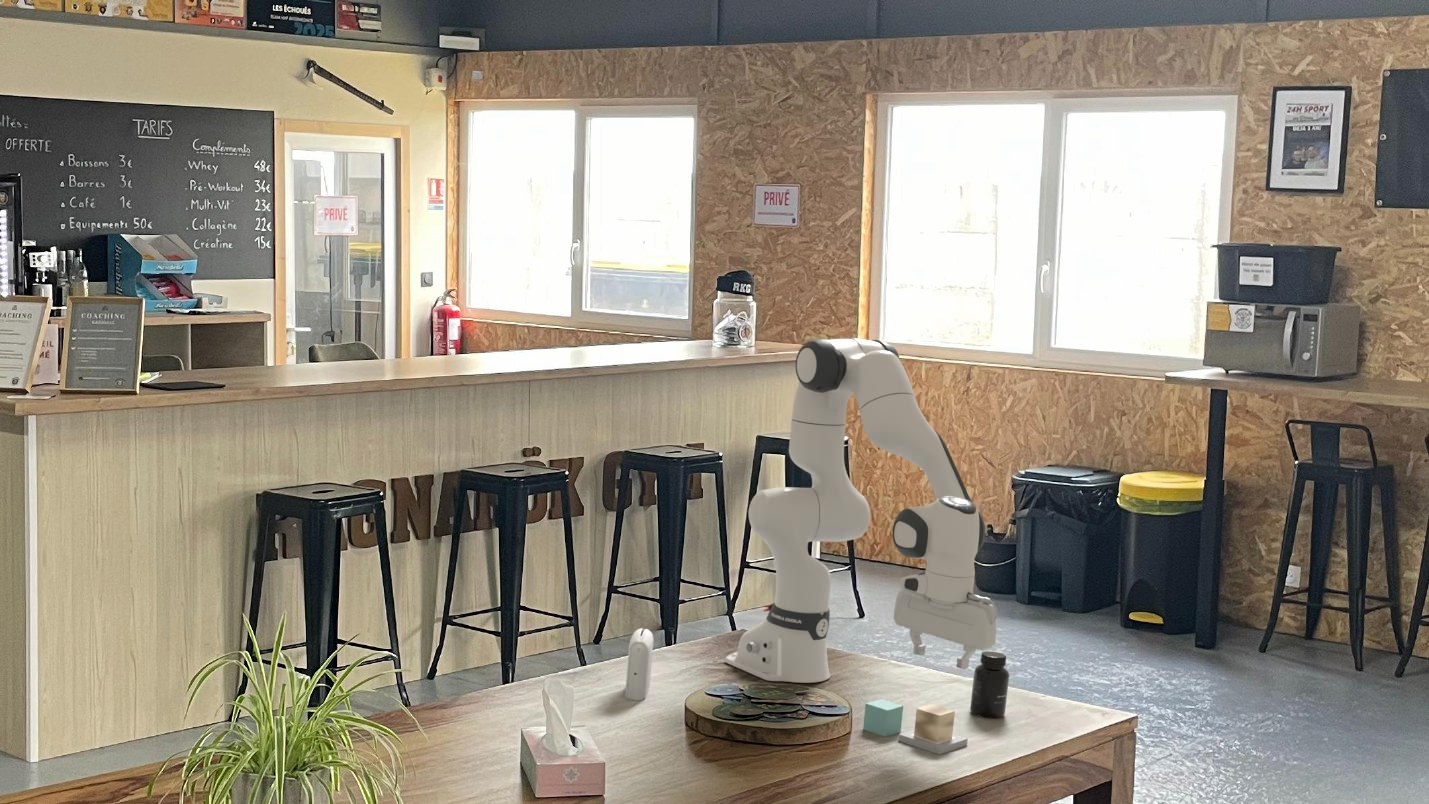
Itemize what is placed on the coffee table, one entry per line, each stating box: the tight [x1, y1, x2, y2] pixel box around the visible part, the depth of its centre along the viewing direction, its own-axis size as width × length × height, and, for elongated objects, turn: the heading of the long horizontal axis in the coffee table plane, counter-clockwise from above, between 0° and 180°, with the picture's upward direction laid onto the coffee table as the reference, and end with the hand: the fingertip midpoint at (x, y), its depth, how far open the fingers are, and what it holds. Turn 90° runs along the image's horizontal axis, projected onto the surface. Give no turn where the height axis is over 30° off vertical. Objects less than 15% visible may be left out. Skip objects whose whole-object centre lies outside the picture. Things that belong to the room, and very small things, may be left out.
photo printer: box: [624, 628, 654, 701], centre depth 305 cm, size 10×4×12 cm, turn 177°
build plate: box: [898, 728, 968, 755], centre depth 290 cm, size 9×9×1 cm
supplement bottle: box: [969, 650, 1010, 719], centre depth 310 cm, size 7×7×12 cm
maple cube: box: [914, 703, 956, 742], centre depth 290 cm, size 5×5×5 cm
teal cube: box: [862, 698, 904, 737], centre depth 295 cm, size 5×5×5 cm
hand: (940, 661), depth 289 cm, fingers open, 8 cm apart
